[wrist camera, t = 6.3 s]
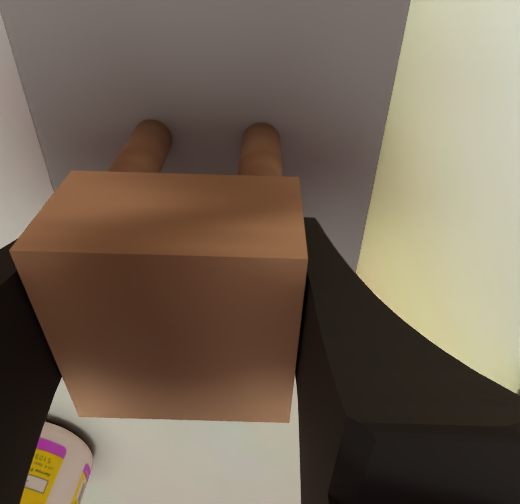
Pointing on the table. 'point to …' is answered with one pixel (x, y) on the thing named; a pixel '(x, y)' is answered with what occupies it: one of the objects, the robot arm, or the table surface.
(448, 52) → the table surface
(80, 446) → the supplement bottle
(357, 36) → the pad
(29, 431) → the robot arm
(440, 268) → the table surface
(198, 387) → the tan box with knobs
